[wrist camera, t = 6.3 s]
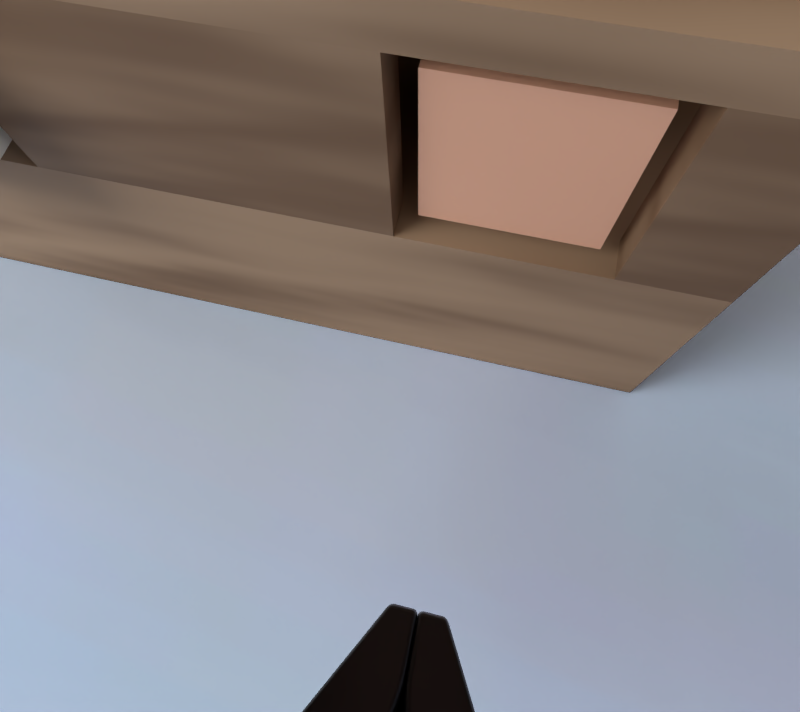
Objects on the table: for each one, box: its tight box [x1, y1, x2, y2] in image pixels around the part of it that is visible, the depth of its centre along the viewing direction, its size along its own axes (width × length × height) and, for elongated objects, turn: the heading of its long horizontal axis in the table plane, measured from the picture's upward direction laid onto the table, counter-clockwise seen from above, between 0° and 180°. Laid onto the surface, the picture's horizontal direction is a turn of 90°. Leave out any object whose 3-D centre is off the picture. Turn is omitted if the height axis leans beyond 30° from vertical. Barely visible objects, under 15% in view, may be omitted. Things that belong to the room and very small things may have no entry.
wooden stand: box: [0, 0, 800, 392], centre depth 15 cm, size 7×24×13 cm, turn 76°
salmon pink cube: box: [418, 59, 679, 249], centre depth 12 cm, size 4×4×4 cm
